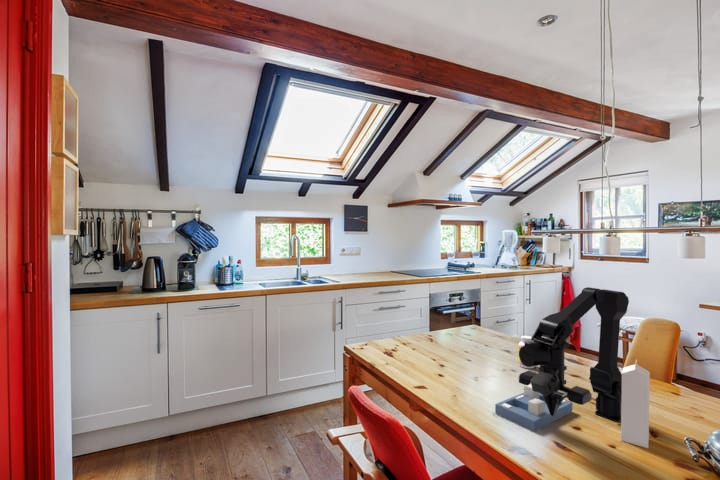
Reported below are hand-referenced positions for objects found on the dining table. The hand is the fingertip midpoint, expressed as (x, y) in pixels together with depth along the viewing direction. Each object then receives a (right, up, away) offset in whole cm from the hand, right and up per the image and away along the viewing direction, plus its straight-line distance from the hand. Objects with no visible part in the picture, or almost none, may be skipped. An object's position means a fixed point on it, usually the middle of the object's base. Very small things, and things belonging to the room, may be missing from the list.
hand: (552, 415), depth 107 cm
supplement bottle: (+16, -4, +52) cm, 55 cm away
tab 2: (-3, -3, +4) cm, 6 cm away
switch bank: (-1, -4, +10) cm, 11 cm away
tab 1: (+1, -3, +16) cm, 16 cm away
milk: (+20, -4, -6) cm, 21 cm away
